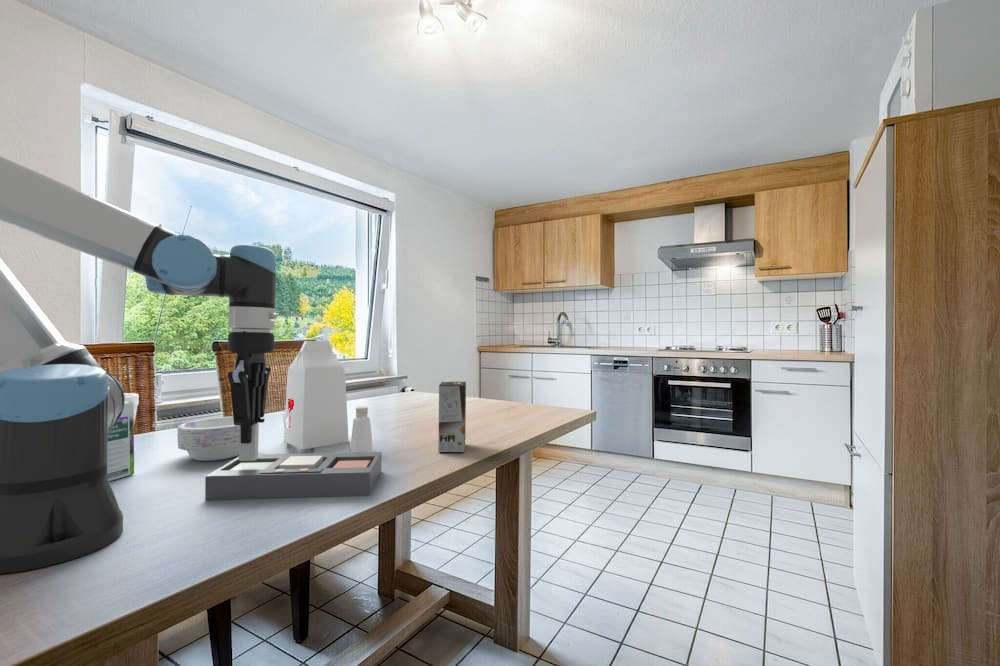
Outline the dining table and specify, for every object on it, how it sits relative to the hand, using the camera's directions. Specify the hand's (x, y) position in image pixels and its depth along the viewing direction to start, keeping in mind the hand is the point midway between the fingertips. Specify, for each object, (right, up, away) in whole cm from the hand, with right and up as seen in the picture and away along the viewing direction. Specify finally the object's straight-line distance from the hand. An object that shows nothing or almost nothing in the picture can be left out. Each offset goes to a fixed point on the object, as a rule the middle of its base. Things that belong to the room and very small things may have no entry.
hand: (248, 459), depth 86 cm
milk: (-1, -5, +35) cm, 36 cm away
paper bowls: (-18, -5, +20) cm, 28 cm away
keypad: (+9, -5, +1) cm, 11 cm away
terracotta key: (+18, -4, +2) cm, 19 cm away
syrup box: (-29, -5, +4) cm, 30 cm away
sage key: (0, -4, 0) cm, 4 cm away
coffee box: (+34, -5, +29) cm, 45 cm away
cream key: (+9, -3, +1) cm, 10 cm away
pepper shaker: (+14, -5, +23) cm, 27 cm away
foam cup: (-44, -5, +24) cm, 50 cm away
